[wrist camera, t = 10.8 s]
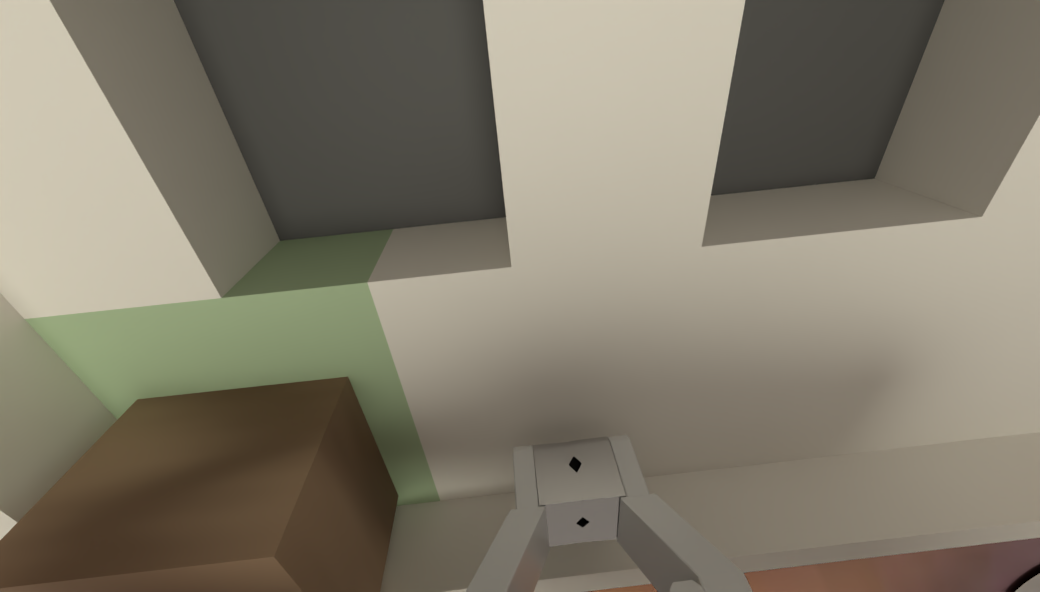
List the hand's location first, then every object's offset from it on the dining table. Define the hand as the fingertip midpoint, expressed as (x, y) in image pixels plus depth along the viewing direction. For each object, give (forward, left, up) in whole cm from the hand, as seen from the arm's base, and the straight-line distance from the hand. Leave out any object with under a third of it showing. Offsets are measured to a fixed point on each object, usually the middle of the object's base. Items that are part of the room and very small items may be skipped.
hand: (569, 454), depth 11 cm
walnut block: (+8, 0, -1) cm, 8 cm away
